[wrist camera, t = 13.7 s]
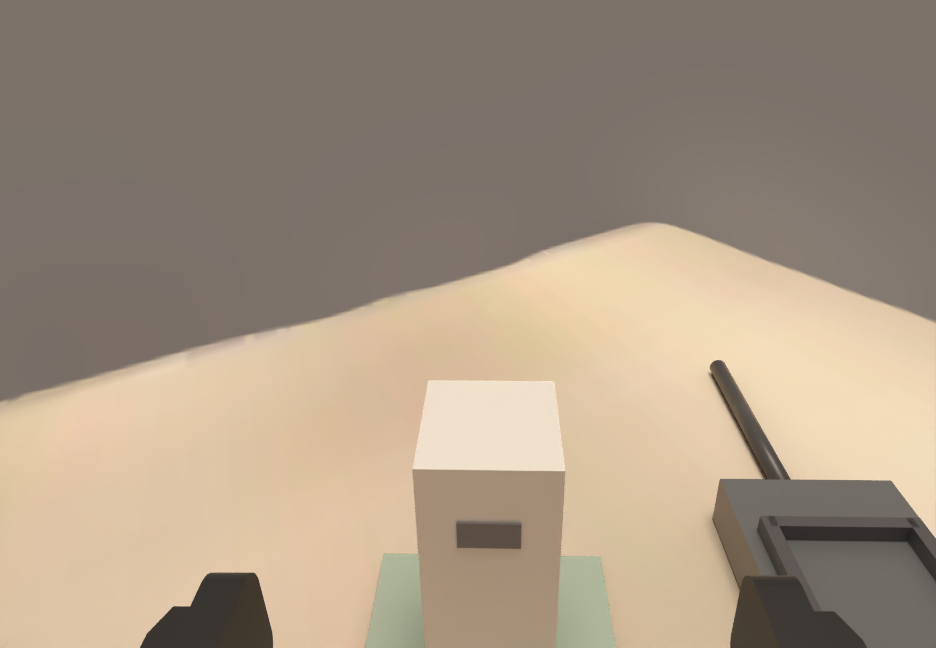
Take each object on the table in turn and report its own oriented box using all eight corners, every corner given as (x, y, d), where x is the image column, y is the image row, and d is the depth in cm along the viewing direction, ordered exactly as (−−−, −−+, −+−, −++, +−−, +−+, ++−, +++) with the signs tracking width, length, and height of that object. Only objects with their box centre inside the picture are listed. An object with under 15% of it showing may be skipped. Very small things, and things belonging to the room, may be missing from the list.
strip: (656, 373, 47) (661, 329, 46) (777, 373, 47) (786, 329, 45) (1052, 1397, 13) (1122, 1359, 12) (1497, 1427, 13) (1626, 1392, 12)
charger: (439, 598, 30) (428, 380, 25) (544, 600, 30) (554, 381, 25) (428, 710, 26) (412, 471, 21) (552, 713, 25) (565, 473, 20)
